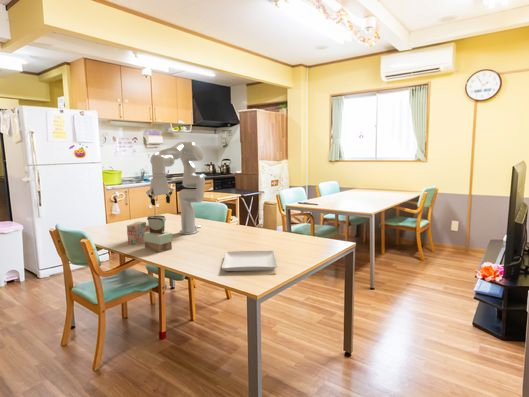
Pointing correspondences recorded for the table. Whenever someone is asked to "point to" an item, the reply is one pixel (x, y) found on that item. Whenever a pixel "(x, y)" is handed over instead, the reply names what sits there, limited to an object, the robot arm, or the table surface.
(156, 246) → the tower base slab
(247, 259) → the square plate
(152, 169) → the robot arm
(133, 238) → the stack of blocks
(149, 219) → the food container
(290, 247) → the table surface
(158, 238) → the tower top slab
